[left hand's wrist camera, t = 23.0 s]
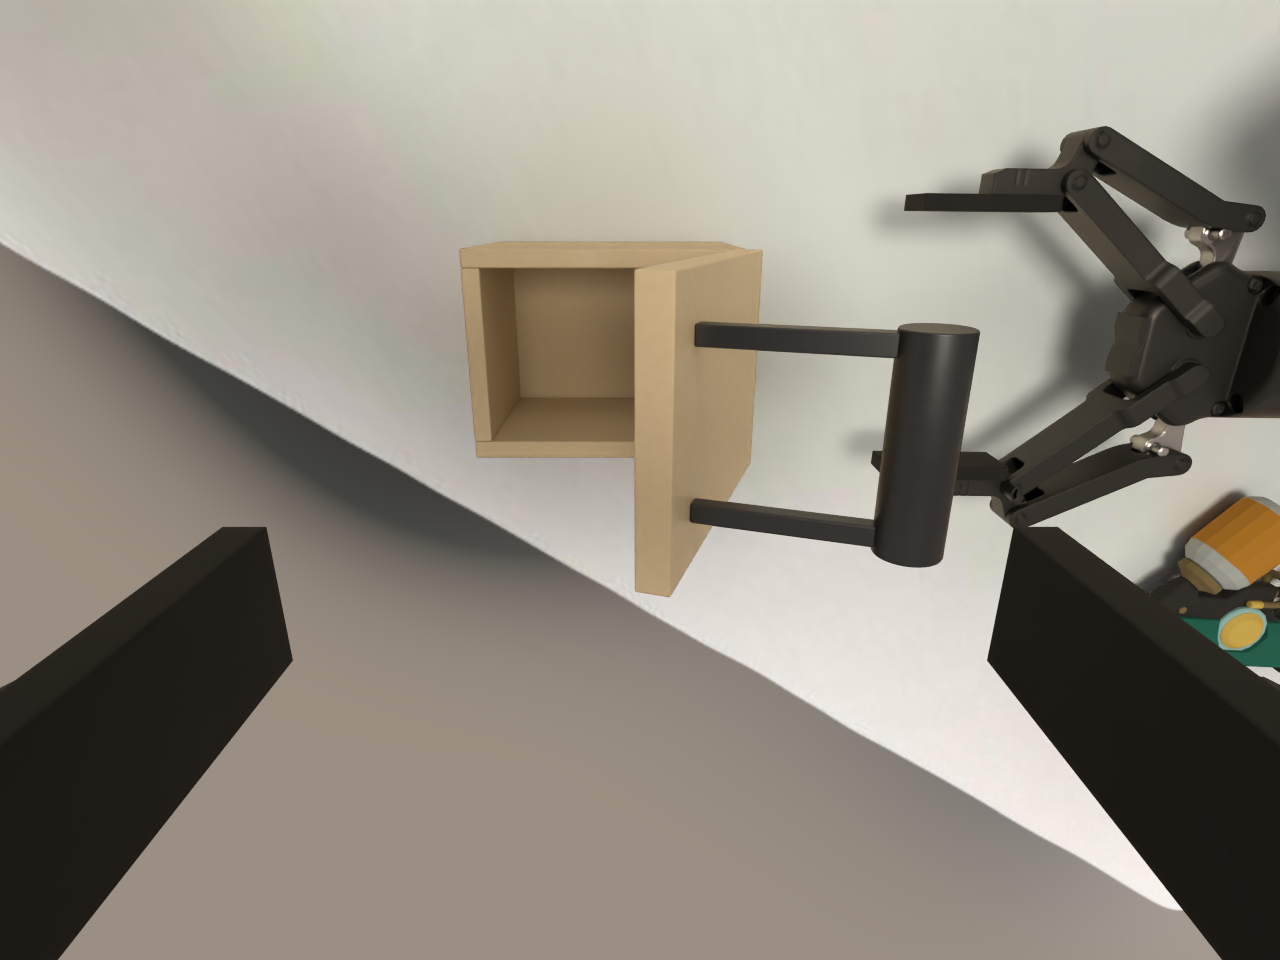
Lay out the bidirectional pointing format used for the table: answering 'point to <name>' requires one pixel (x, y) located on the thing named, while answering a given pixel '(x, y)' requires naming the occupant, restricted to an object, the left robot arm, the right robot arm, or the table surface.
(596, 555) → the table surface
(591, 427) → the chest
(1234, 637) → the spray gun
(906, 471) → the lid
